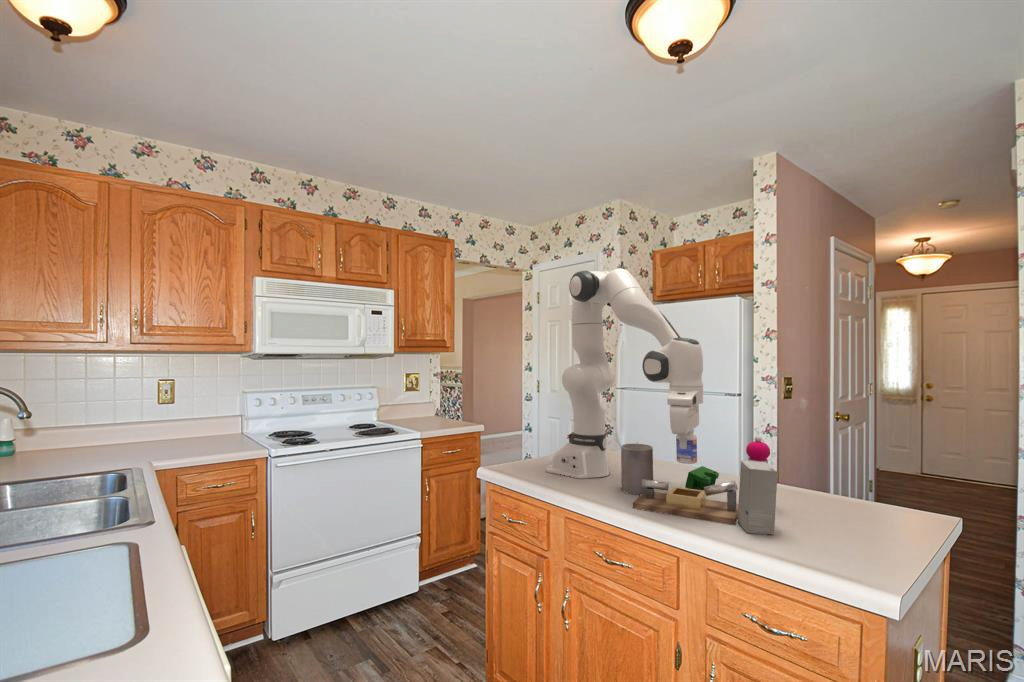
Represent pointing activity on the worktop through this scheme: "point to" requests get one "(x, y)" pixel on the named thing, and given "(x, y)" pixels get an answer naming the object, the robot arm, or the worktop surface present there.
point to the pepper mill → (758, 450)
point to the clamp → (701, 478)
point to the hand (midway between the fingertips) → (686, 446)
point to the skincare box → (757, 497)
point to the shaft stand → (690, 501)
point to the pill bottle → (687, 449)
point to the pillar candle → (636, 467)
